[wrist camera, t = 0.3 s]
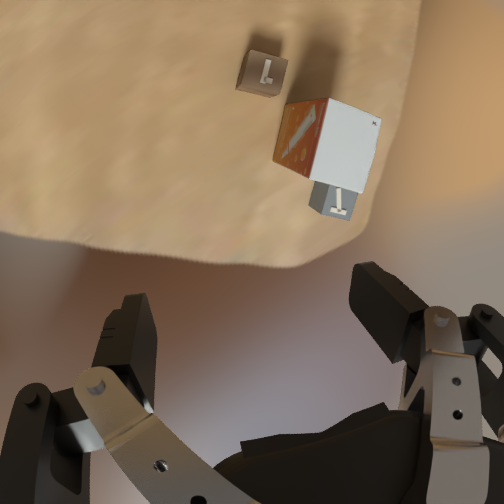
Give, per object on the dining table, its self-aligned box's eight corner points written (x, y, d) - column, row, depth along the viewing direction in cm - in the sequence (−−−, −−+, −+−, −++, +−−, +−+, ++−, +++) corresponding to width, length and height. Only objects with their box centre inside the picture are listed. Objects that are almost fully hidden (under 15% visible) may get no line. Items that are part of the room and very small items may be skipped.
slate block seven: (316, 174, 39) (331, 181, 35) (343, 182, 40) (360, 189, 36) (308, 205, 40) (321, 214, 36) (334, 211, 42) (350, 221, 37)
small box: (284, 103, 34) (329, 95, 22) (327, 117, 36) (384, 118, 24) (270, 162, 37) (308, 180, 25) (313, 172, 38) (364, 194, 27)
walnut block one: (243, 58, 30) (250, 48, 26) (277, 67, 32) (288, 59, 27) (235, 89, 32) (241, 84, 28) (269, 97, 33) (280, 94, 29)
